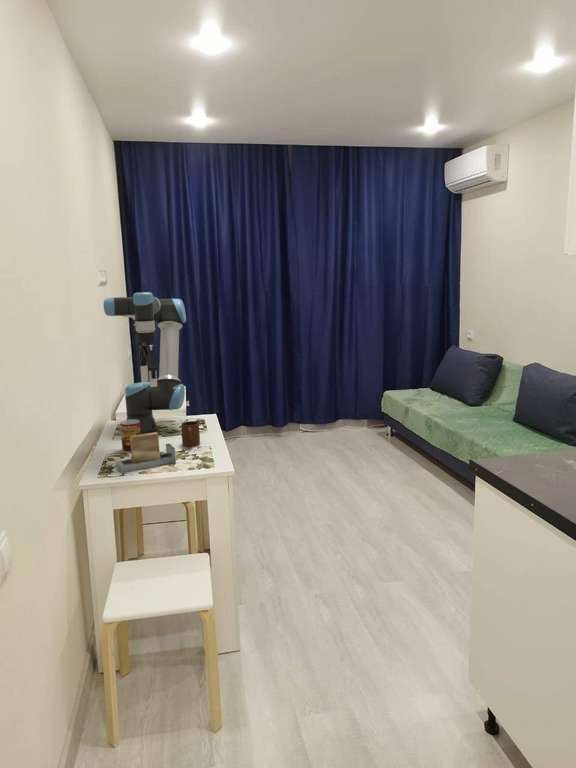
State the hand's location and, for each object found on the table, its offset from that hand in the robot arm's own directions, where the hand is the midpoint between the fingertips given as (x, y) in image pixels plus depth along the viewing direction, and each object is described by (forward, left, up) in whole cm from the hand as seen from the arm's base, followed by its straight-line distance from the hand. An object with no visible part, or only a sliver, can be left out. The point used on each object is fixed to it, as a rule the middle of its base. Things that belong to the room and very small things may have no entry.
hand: (149, 384), depth 230 cm
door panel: (+15, -7, -29) cm, 33 cm away
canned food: (-9, -7, -29) cm, 31 cm away
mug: (0, +16, -29) cm, 33 cm away
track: (+15, -7, -29) cm, 33 cm away
